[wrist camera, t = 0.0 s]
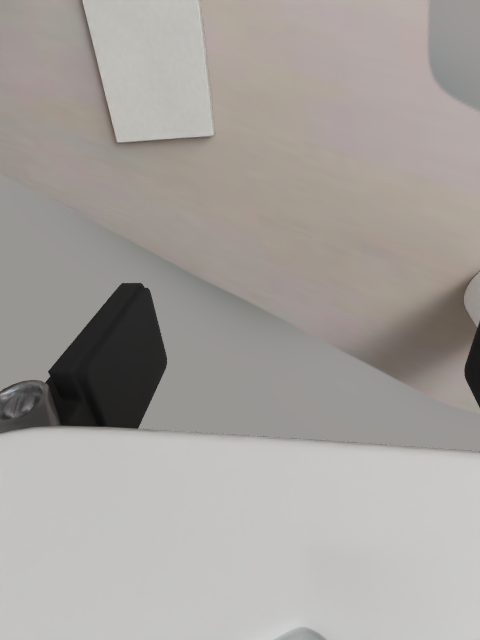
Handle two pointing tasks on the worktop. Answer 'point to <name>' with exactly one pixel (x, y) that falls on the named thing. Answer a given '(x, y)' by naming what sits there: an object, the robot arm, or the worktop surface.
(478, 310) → the container
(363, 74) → the worktop surface
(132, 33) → the tile
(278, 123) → the worktop surface
